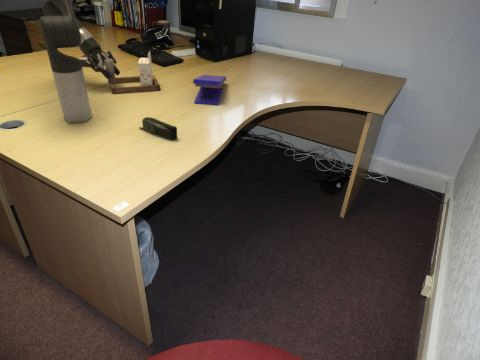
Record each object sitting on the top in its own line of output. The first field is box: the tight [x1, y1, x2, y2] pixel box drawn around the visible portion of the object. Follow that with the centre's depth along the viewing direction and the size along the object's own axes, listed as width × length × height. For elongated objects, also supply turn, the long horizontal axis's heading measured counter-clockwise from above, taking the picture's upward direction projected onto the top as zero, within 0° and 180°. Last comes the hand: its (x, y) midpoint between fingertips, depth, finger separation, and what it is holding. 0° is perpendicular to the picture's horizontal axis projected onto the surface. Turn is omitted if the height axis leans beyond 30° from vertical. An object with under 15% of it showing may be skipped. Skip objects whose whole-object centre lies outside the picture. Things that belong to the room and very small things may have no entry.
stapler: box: [192, 74, 227, 106], centre depth 146 cm, size 12×28×10 cm, turn 177°
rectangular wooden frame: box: [104, 58, 161, 94], centre depth 145 cm, size 14×21×12 cm
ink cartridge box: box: [137, 50, 154, 86], centre depth 146 cm, size 9×5×15 cm, turn 9°
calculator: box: [78, 54, 105, 68], centre depth 173 cm, size 11×4×15 cm
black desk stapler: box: [138, 116, 178, 141], centre depth 112 cm, size 5×3×15 cm
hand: (114, 75), depth 142 cm, fingers open, 5 cm apart
